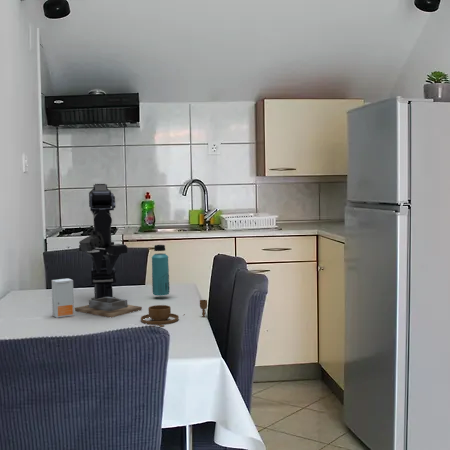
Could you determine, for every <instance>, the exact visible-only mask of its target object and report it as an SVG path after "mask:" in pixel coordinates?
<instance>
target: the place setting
mask: <svg viewBox="0 0 450 450" xmlns="http://www.w3.org/2000/svg"><path fill="white" fill-rule="evenodd" d="M199 307H200V309H201V311H202V312H201V315H202V318H205V317H206V309H207V308H208V300H207V299H201V300H199ZM185 315H186V314H183V316H185ZM149 317H150V318H149ZM145 318H147V319H145ZM169 318H172V319H170V320H168V319H169ZM173 318H174V319H173ZM143 319H145V320H143ZM148 319H150V320H148ZM140 321H141V323H143V324H145V323H147V324H146V325H150V326H160V327H159V328H163V327H165V325H169V324H174V323H177V322H178V321H179V314H175V313H171V306H170V305H168V304H167V305H164V304H158V305H157V304H156V305H151V306H149V307H148V314H144V315H141V317H140Z"/></svg>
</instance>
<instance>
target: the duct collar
mask: <svg viewBox="0 0 450 450" xmlns="http://www.w3.org/2000/svg"><path fill="white" fill-rule="evenodd" d="M113 297H114V296H113ZM113 297H103V298H98V299H94V300H92V299H91V300H88V304H86V305H81V306H77V307H74V312H78V313H79V312H80V313H84V314H91V315H96V316H101V317H105V316H106V318H110V317H111V318H115V317H119V316H123V315H127V314H130V312H131V313H134V312H133V311H135V312H139V311H142V310H143V307H142V306H137V305H132V304H128V299H126V298H125V299H124V298H118V297H115V298H113ZM141 309H142V310H141ZM138 310H139V311H138Z"/></svg>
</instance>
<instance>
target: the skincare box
mask: <svg viewBox="0 0 450 450" xmlns="http://www.w3.org/2000/svg"><path fill="white" fill-rule="evenodd" d="M74 302H75V301H74V280H73V279H71V278H59V279H51V304H52V305H51V306H52V307H51V308H52V309H51V310H52V316H53V317H55V318H57V319H58V318H65V317H74V316H75V313H74V312H75V307H74V305H75V304H74Z"/></svg>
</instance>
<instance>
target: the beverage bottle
mask: <svg viewBox="0 0 450 450" xmlns="http://www.w3.org/2000/svg"><path fill="white" fill-rule="evenodd" d="M164 251H166V245H165V244H155V245H154V248H153V252H162V253H154V254H153V255H151V279H152V280H151V283H152V284H151V285H152V286H151V287H152V294H153V295H154V296H167V295H170V273H169V272H170V266H169V256H168V255H167V254H166V253H163V252H164Z"/></svg>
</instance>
